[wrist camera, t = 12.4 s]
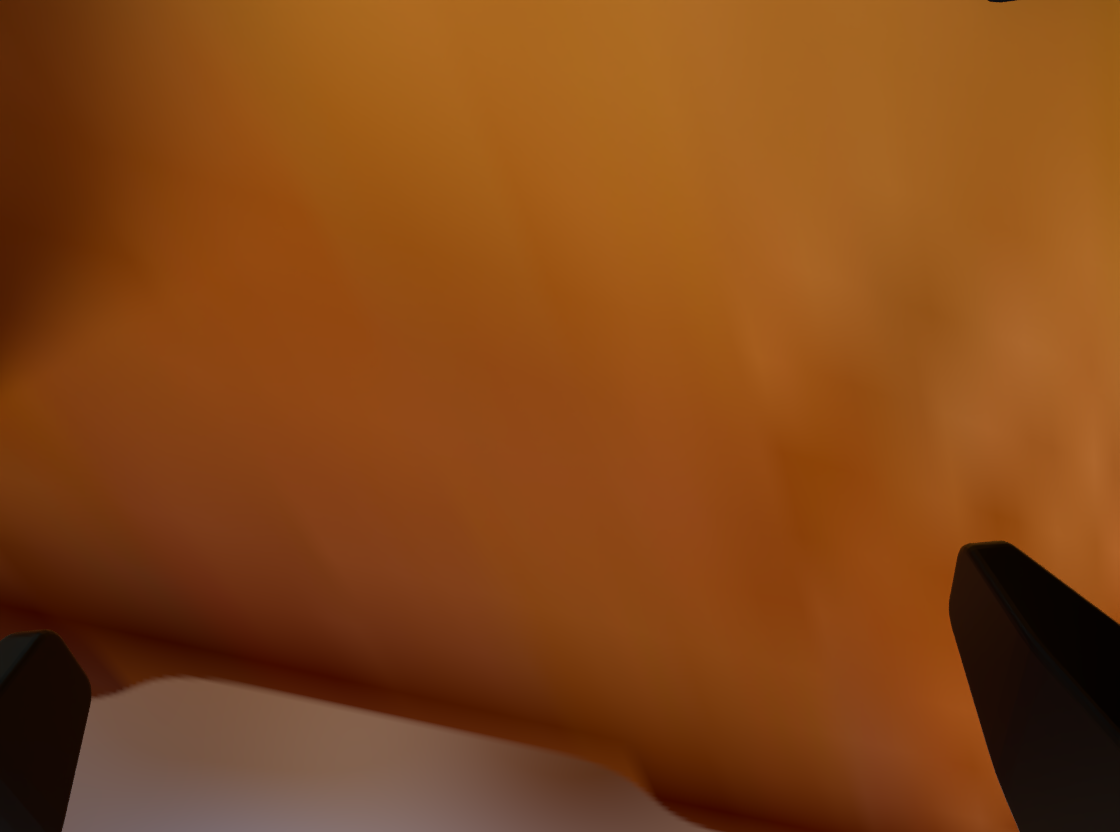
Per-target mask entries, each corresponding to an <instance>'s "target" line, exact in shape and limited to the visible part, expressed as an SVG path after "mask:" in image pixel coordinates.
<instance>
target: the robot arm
mask: <svg viewBox="0 0 1120 832" xmlns="http://www.w3.org/2000/svg"><path fill="white" fill-rule="evenodd" d="M988 1H990V2H1007V1H1015V0H988ZM949 615H950V621H951V626H952V629H953V633H954V636H955V640H956V643H957V646H958V650H959V653H960V656H961V660H962V663H963V667H964V670H965V673H966V677H967V680H968V683H969V687H970V690H971V694H972V697H973V700H974V704H975V707H976V710H977V714H978V717H979V721H980V724H981V727H982V731H983V734H984V737H985V741H986V744H987V748H988V751H989V754H990V757H991V760H992V763H993V766H994V769H995V773H996V775H997V778H998V780H999V783H1000V785H1001V788H1002V790H1003V793H1004V796H1005V798H1006V800H1007V803H1008V805H1009V807H1010V810H1011V812H1012V814H1013V817H1014V819H1015V822H1016V824H1017V826H1018V829H1019V831H1020V832H1120V624H1118V623H1117V622H1116V621H1114V620H1113V619H1112V618H1110V617H1109V616H1108V615H1106V614H1105V613H1104V612H1102V611H1101V610H1100V609H1098V608H1097V607H1096V606H1094V605H1093V604H1092V603H1090V602H1089V601H1088V600H1086V599H1085V598H1084V597H1082V596H1081V595H1080V594H1078V593H1077V592H1076V591H1074V590H1073V589H1072V588H1070V587H1069V586H1068V585H1066V584H1065V583H1064V582H1062V581H1061V580H1060V579H1058V578H1057V577H1056V576H1054V575H1053V574H1052V573H1050V572H1049V571H1048V570H1046V569H1045V568H1044V567H1042V566H1041V565H1040V564H1038V563H1037V562H1036V561H1034V560H1033V559H1032V558H1030V557H1029V556H1028V555H1026V554H1025V553H1024V552H1022V551H1021V550H1020V549H1018V548H1017V547H1016V546H1014V545H1012V544H1010V543H1008V542H1005V541H991V542H980V543H969V544H966V545H964V546H963V547H962V548H961V549H960V551H959V553H958V557H957V562H956V567H955V573H954V578H953V583H952V589H951V594H950V600H949ZM90 703H91V685H90V682H89V679H88V677H87V675H86V673H85V672H84V670H83V669H82V667H81V666H80V664H79V663H78V661H77V660H76V658H75V657H74V655H73V654H72V652H71V651H70V649H69V648H68V646H67V645H66V643H65V642H64V641H63V639H62V638H61V636H60V635H59V634H57V633H56V632H54V631H52V630H47V629H45V630H34V631H24V632H16V633H13V634H10V635H8V636H6V637H5V638H4V639H2V640H1V641H0V832H62V828H63V824H64V820H65V816H66V811H67V807H68V802H69V798H70V793H71V789H72V785H73V780H74V775H75V771H76V766H77V762H78V757H79V753H80V749H81V744H82V740H83V735H84V731H85V726H86V722H87V717H88V713H89V708H90Z"/></svg>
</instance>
